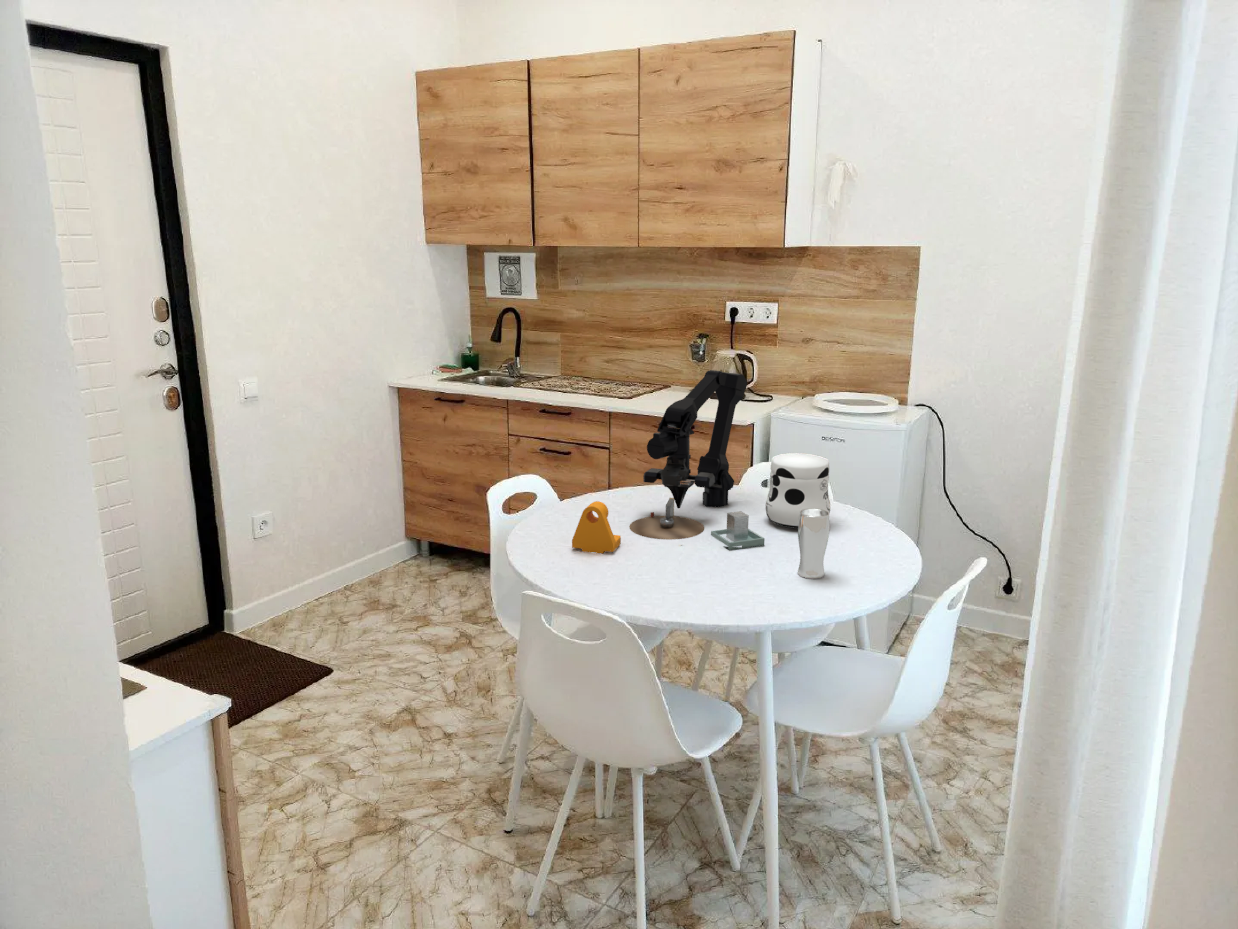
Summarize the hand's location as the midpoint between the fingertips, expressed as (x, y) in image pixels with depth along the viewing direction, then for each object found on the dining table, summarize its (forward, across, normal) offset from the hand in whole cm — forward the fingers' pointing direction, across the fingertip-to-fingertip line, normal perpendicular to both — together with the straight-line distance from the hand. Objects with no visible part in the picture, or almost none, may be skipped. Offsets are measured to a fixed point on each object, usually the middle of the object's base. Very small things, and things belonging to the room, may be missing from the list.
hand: (678, 508), depth 238 cm
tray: (+5, +19, -10) cm, 22 cm away
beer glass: (+5, +41, -25) cm, 48 cm away
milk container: (+5, +30, +12) cm, 33 cm away
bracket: (+4, -12, -27) cm, 30 cm away
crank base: (+4, -1, -8) cm, 9 cm away
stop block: (+4, +19, -10) cm, 22 cm away
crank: (+3, -1, -4) cm, 5 cm away
